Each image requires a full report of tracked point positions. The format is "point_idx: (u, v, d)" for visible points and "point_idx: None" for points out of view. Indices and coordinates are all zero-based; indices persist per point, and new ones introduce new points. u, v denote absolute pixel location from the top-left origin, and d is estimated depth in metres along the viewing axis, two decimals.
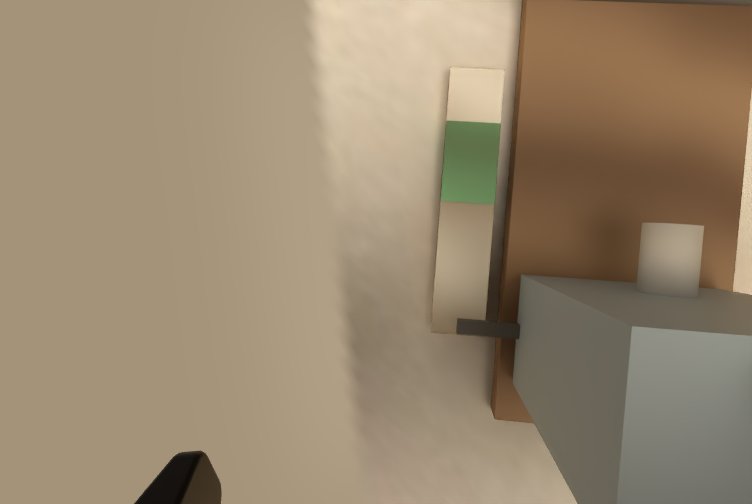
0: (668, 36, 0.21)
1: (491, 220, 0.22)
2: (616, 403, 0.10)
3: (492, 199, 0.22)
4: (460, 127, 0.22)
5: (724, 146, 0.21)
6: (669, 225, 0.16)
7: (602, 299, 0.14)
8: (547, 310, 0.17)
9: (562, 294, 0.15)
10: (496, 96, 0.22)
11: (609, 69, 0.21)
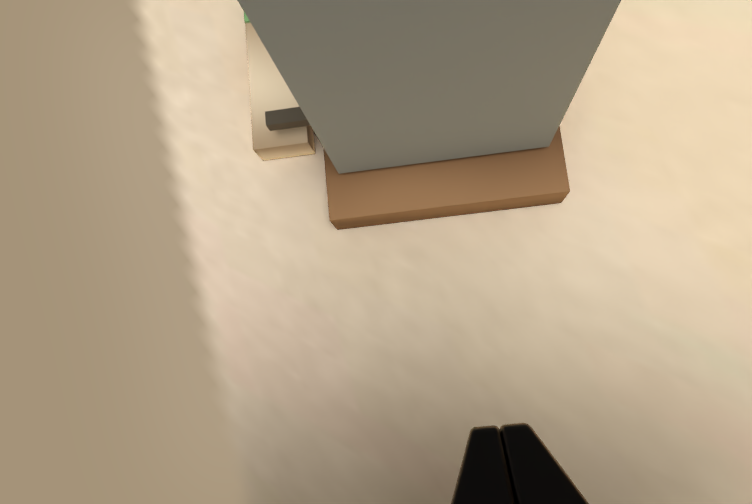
0: None
1: None
2: None
3: None
4: None
5: None
6: None
7: None
8: None
9: None
10: None
11: None
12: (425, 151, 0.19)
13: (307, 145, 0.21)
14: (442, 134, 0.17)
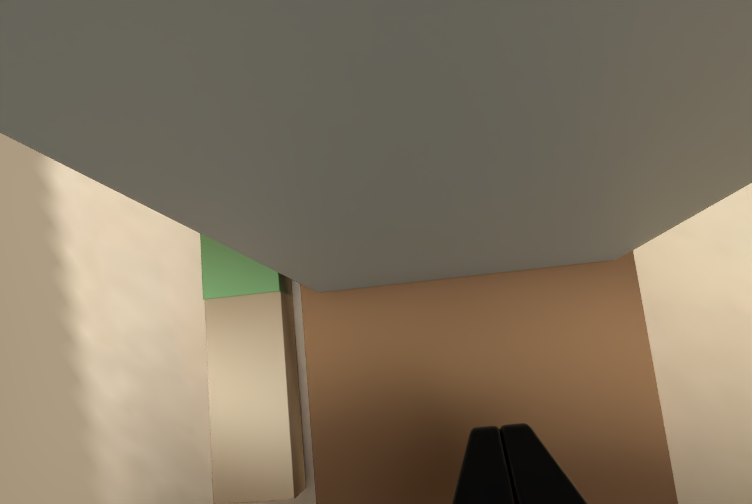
0: None
1: (280, 315, 0.15)
2: None
3: (274, 284, 0.15)
4: None
5: None
6: None
7: None
8: None
9: None
10: None
11: None
12: (441, 272, 0.13)
13: None
14: (468, 260, 0.12)
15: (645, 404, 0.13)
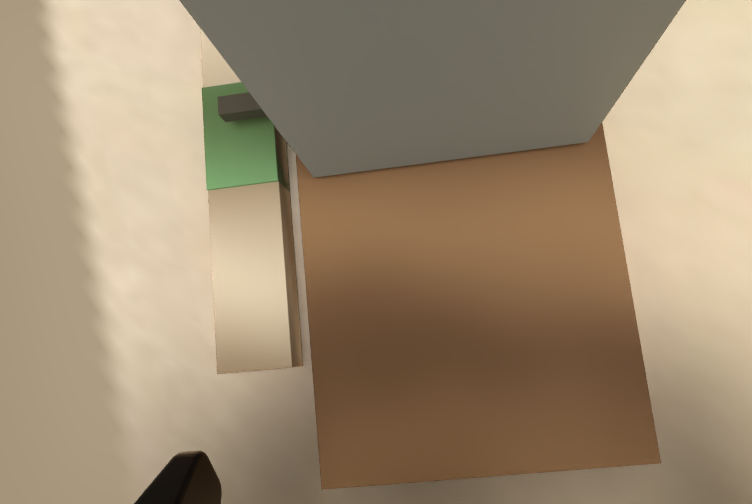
0: None
1: (278, 203, 0.16)
2: None
3: (273, 174, 0.16)
4: (221, 93, 0.17)
5: None
6: None
7: None
8: None
9: None
10: None
11: None
12: (426, 148, 0.14)
13: None
14: (449, 125, 0.13)
15: (614, 273, 0.15)
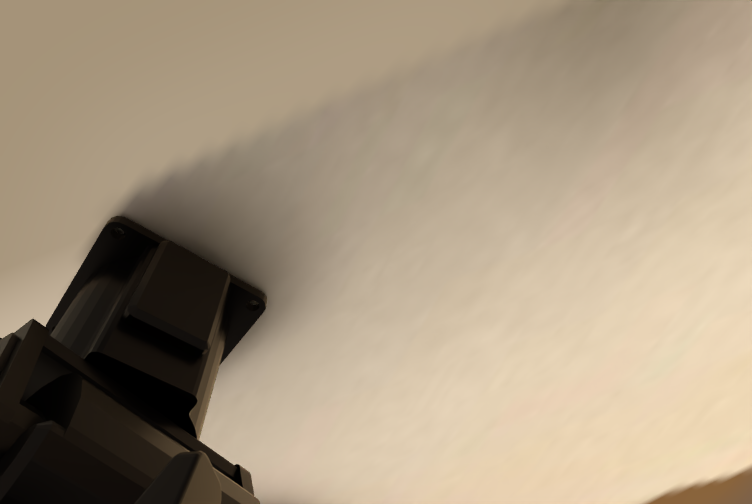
0: None
1: None
2: None
3: None
4: None
5: None
6: None
7: None
8: None
9: None
10: None
11: None
12: None
13: None
14: None
15: None
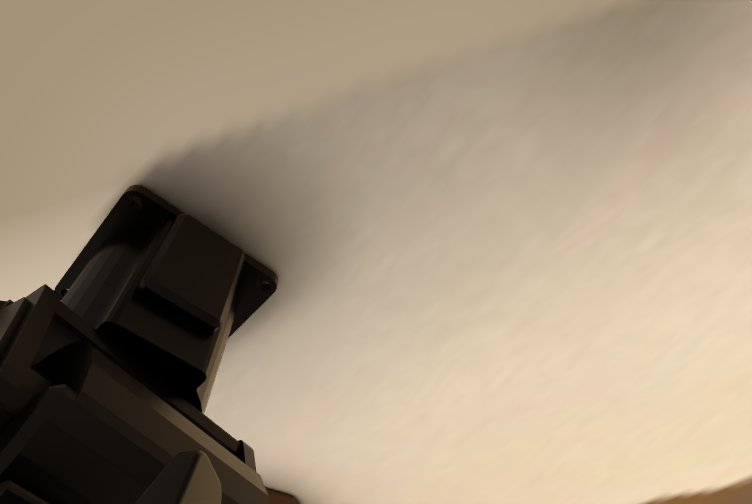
0: None
1: None
2: None
3: None
4: None
5: None
6: None
7: None
8: None
9: None
10: None
11: None
12: None
13: None
14: None
15: None
